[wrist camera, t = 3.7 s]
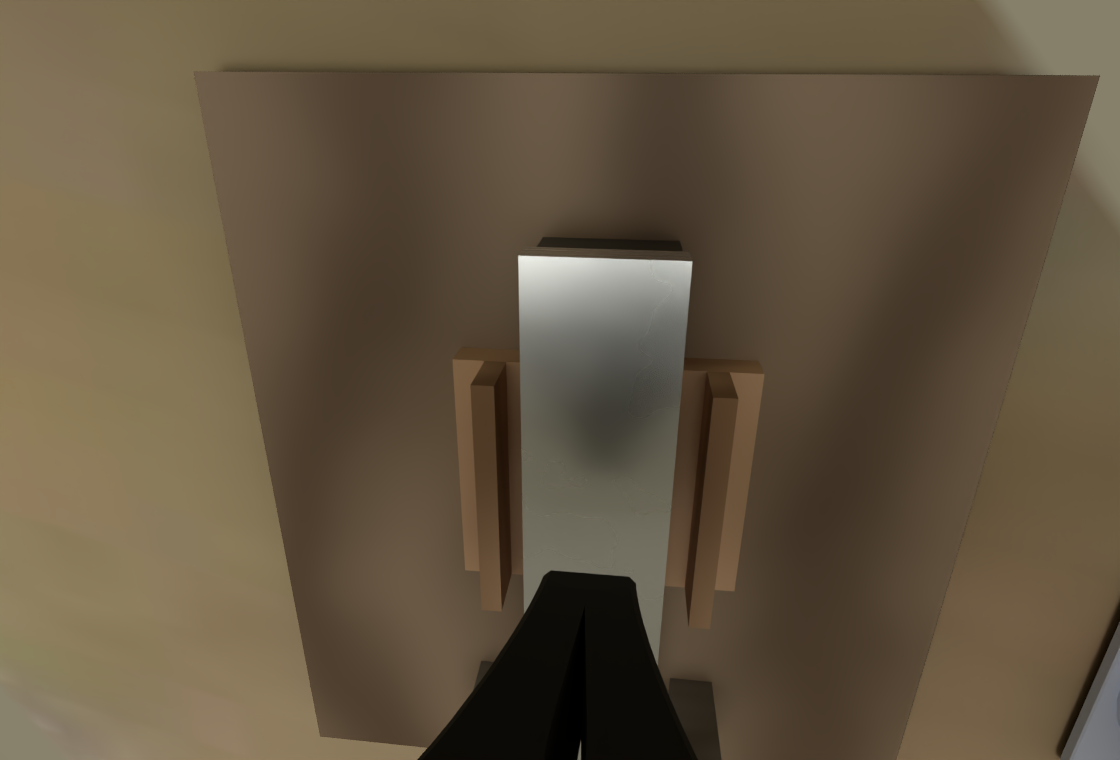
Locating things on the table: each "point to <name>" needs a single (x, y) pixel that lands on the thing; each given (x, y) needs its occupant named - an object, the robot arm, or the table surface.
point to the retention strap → (601, 413)
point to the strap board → (708, 372)
